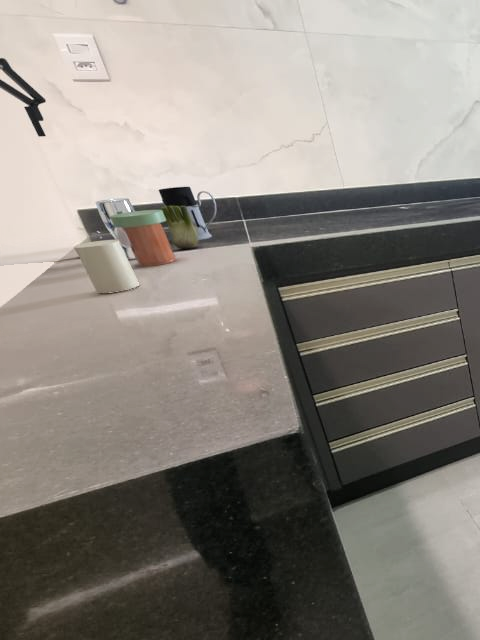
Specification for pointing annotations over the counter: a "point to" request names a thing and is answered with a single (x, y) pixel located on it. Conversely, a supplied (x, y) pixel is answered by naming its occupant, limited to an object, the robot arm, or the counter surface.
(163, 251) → the cup
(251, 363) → the counter surface
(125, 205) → the beer glass
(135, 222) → the lid
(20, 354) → the counter surface
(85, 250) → the can
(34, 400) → the counter surface
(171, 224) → the fennel bulb
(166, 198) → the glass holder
